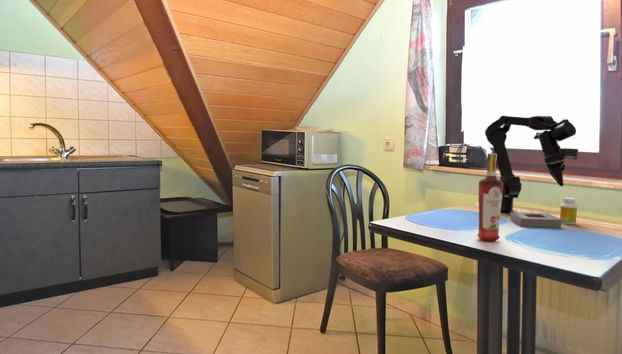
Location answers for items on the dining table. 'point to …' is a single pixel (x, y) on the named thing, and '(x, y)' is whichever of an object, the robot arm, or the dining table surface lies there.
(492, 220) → the liquor
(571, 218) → the supplement bottle
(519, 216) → the dock
